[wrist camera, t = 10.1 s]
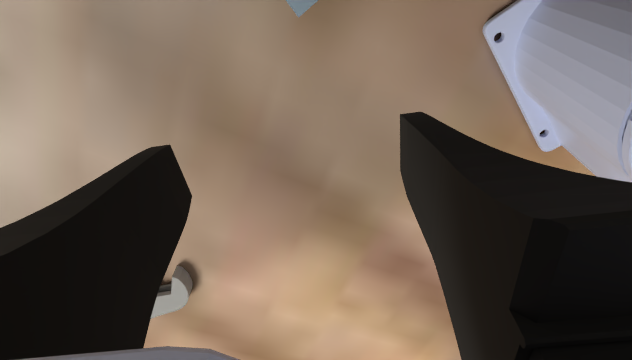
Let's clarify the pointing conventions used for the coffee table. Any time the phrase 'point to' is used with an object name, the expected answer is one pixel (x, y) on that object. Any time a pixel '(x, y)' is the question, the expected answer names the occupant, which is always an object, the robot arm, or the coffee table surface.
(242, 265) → the coffee table surface
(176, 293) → the adjustable wrench
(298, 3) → the bin
